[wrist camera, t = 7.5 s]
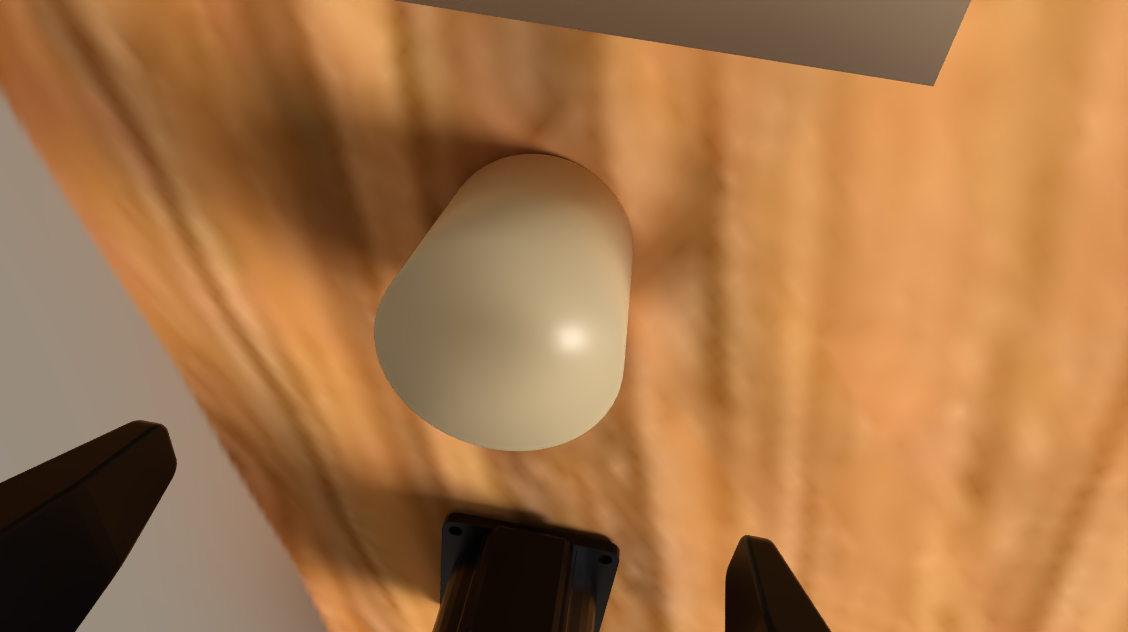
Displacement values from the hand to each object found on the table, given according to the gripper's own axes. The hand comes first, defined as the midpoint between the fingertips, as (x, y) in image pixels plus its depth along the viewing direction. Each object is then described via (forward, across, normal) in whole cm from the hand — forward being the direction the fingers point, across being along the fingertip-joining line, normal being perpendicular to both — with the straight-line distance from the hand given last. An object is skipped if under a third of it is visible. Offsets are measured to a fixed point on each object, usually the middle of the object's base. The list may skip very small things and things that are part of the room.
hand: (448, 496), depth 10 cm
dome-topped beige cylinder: (+8, 0, 0) cm, 8 cm away
